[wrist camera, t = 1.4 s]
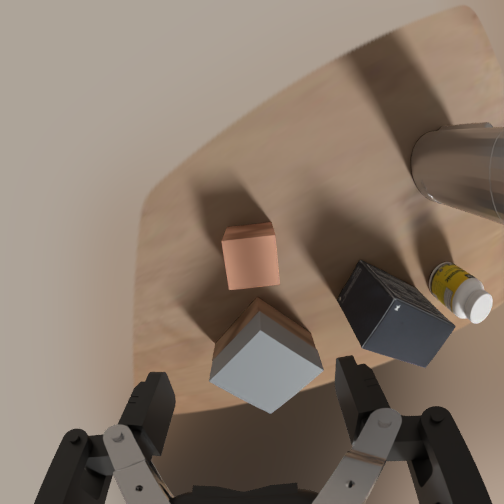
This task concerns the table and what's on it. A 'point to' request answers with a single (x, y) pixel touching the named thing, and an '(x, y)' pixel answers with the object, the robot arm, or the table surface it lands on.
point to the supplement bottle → (460, 292)
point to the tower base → (268, 311)
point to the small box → (392, 316)
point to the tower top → (265, 364)
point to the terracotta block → (250, 256)
